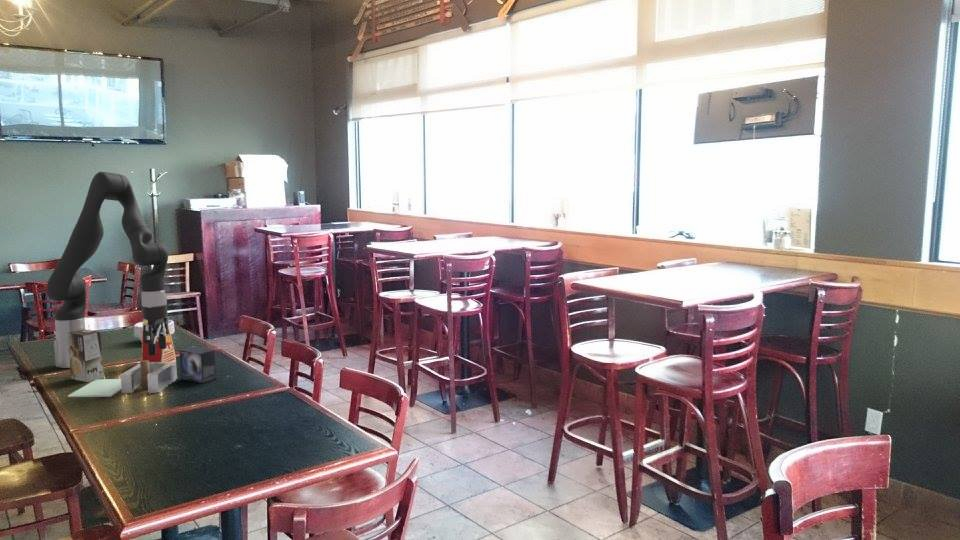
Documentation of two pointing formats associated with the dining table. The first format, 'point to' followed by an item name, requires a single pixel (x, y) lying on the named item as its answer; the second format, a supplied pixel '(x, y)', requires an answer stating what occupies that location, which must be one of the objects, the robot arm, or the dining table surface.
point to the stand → (144, 373)
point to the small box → (198, 364)
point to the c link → (150, 377)
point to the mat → (99, 388)
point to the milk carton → (161, 354)
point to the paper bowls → (139, 327)
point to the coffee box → (85, 355)
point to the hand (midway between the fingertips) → (157, 351)
